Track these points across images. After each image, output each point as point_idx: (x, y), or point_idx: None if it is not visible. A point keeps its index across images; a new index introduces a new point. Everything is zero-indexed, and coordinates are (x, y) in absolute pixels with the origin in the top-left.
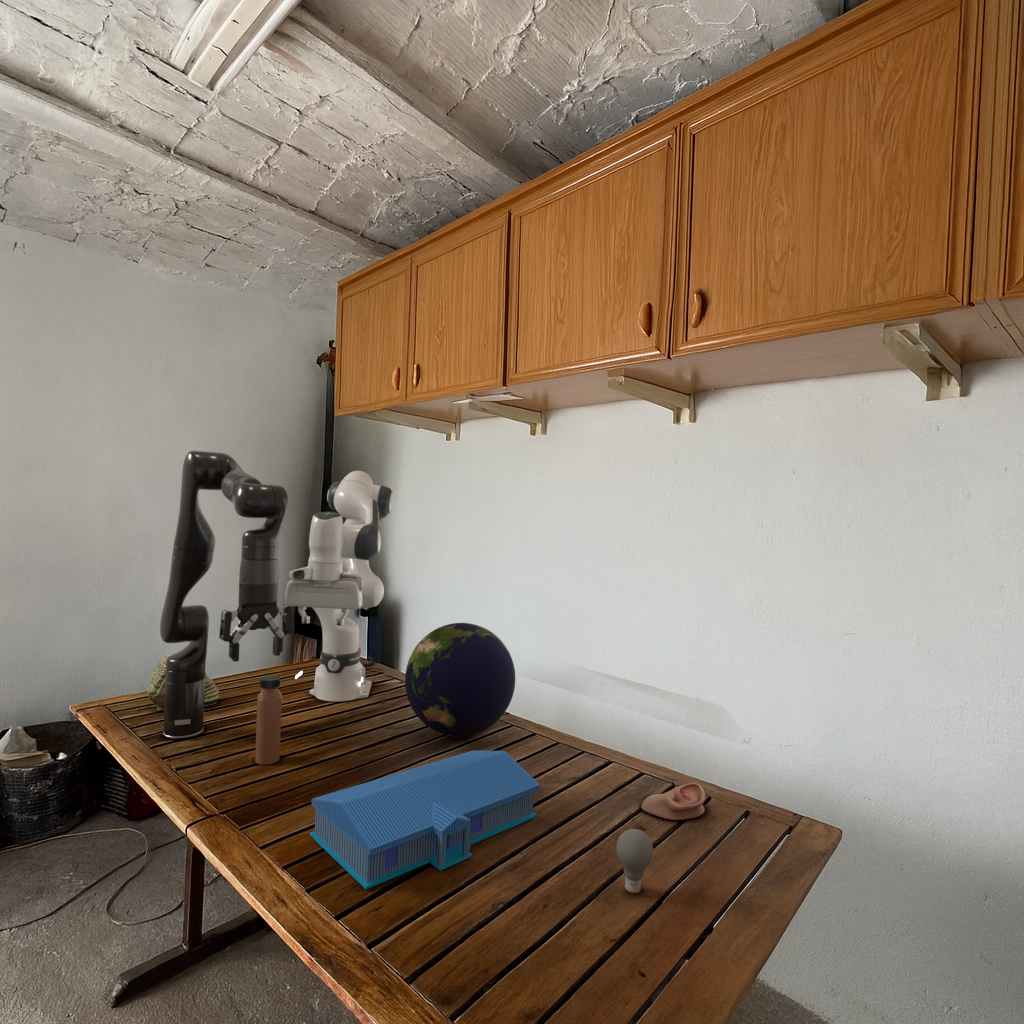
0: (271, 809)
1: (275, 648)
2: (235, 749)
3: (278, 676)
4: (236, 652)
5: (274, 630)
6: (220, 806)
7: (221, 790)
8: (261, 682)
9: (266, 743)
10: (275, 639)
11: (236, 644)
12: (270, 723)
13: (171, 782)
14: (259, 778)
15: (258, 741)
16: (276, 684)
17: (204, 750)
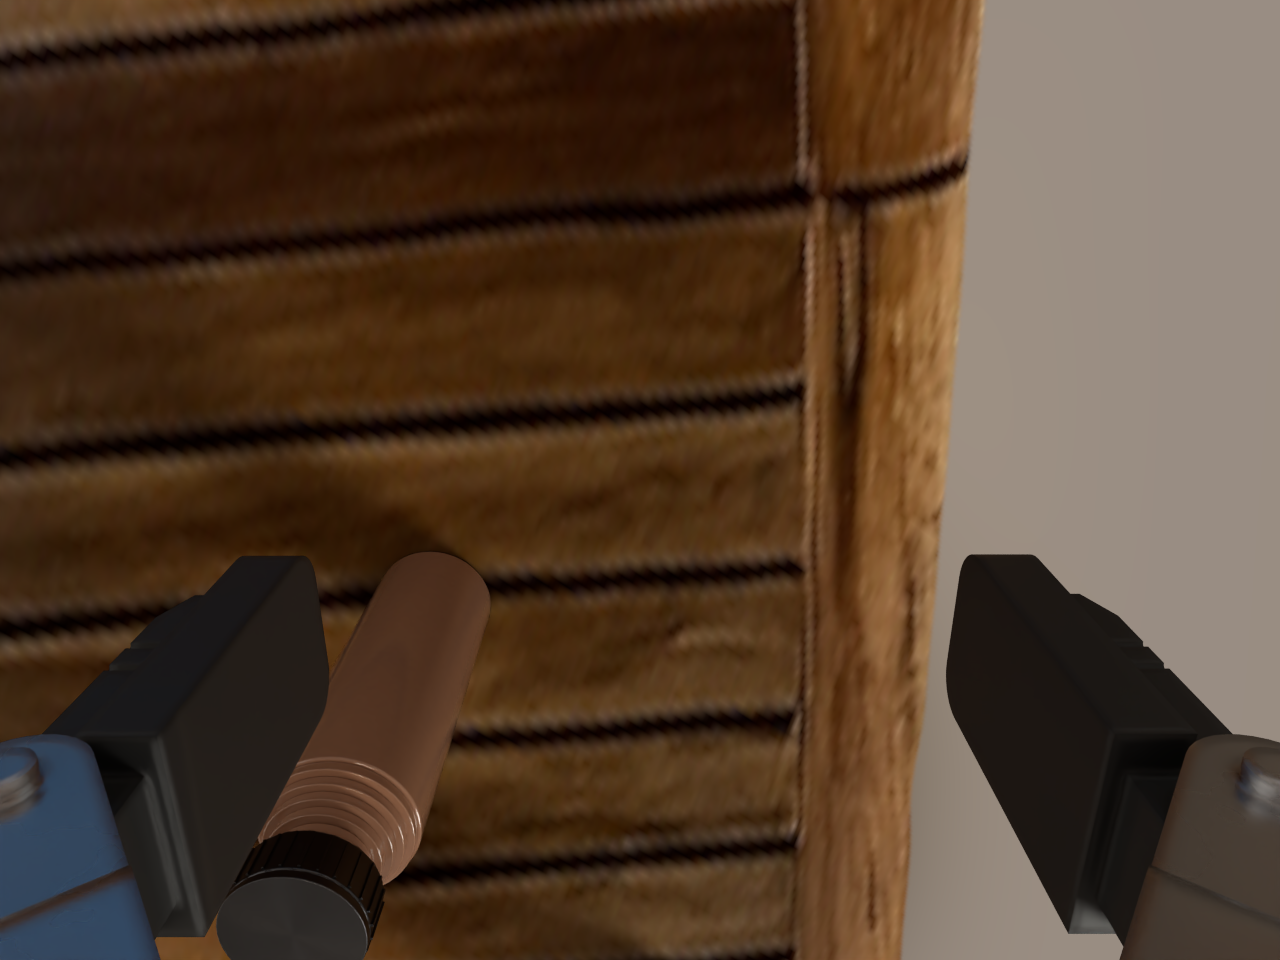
0: (609, 74)
1: (274, 667)
2: (518, 776)
3: (222, 941)
4: (1081, 627)
5: (133, 879)
6: (784, 264)
7: (719, 420)
8: (372, 913)
9: (437, 609)
10: (197, 803)
11: (1179, 726)
12: (394, 664)
13: (853, 617)
14: (534, 436)
15: (468, 644)
16: (274, 850)
17: (631, 832)
